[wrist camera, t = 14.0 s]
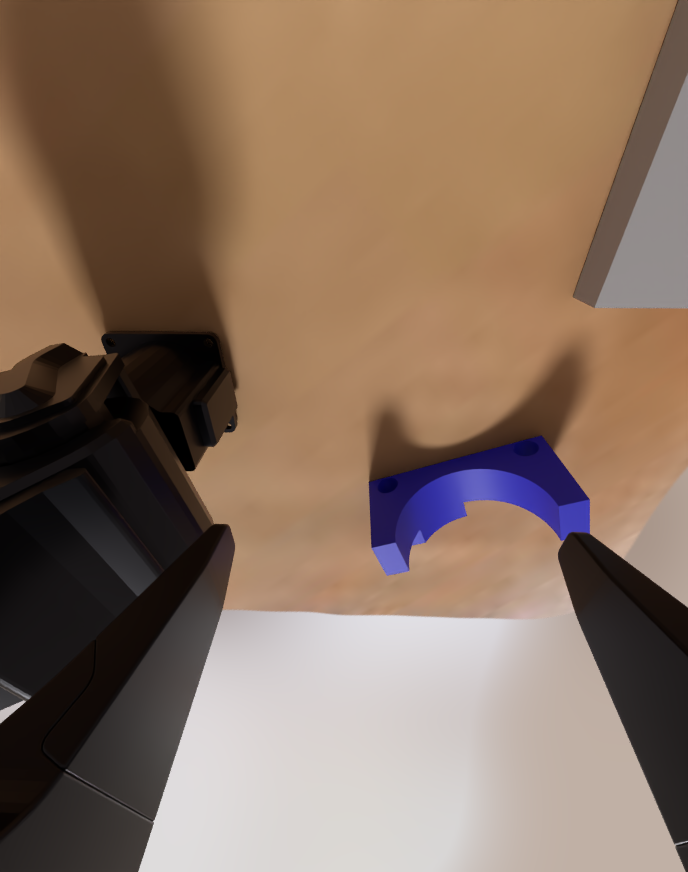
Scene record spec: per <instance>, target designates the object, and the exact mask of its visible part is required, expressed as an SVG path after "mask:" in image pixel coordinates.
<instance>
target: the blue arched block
mask: <svg viewBox="0 0 688 872" xmlns="http://www.w3.org/2000/svg"><path fill="white" fill-rule="evenodd" d="M369 497H370V521H371V546H372V550H373V551H374V553H375V555H376V557H377V559H378V561H379V562H380V564H381V566H382V568H383V570H384V571H385V573H386V575H392V574H397V573H402V572H407V571H409V555H410V550H411V546H412V545H417V544H421V543H425V542H426V541H427V540H428V539H429V537H430V536H431V535H432V534H433V533H434V532H436V531H437V530H438V529H439V528H441V527H442V526H444V525H445V524H447V523H449V522H451V521H453V520H456V519H458V518H461V517H465V516H467V514H466V511H465V507H464V504H463V502H467V501H474V500H495V501H502V502H507V503H511V504H514V505H517V506H520V507H522V508H524V509H527V510H528V511H530V512H532V513H534V514H535V515H537V516H538V517H540V518H541V519H542V520H544V521H545V522H546V523H547V524H548V525H549V526H550V527H551V528H552V529H553V530H554V531H555V532H556V534H557V535H558V537H559V538H560V540H561V541H562V540H565V538H566V537H567V535H568V534H569V533H570V532H586V533H589V534H590V499H589V498H588V497H587V495H586V494H585V493H584V491H583V490H582V489H581V487H580V486H579V485H578V483H577V482H576V481H575V479H574V478H573V477H572V475H571V474H570V473H569V471H568V470H567V469H566V467H565V466H564V465H563V463H562V462H561V461H560V459H559V458H558V457H557V455H556V454H555V453H554V451H553V450H552V449H551V447H550V446H549V445H548V443H547V442H546V441H545V439H544V438H543V437H542V435H541V436H538V437H534V438H530V439H526V440H523V441H519V442H515V443H512V444H508V445H504V446H501V447H497V448H493V449H489V450H486V451H482V452H478V453H475V454H471V455H467V456H464V457H460V458H456V459H452V460H449V461H445V462H441V463H438V464H434V465H430V466H426V467H423V468H419V469H415V470H412V471H408V472H404V473H401V474H397V475H393V476H389V477H386V478H382V479H378V480H375V481H371V482H369Z"/></svg>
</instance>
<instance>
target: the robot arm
mask: <svg viewBox="0 0 688 872" xmlns="http://www.w3.org/2000/svg"><path fill="white" fill-rule="evenodd" d="M110 338H111V339H113V340H114V341H115V343H116V344H114V343H112V342H111V340H110ZM206 339H210V340H211V341H212V342H213V345H210V344H208V343H207V341H206ZM101 340H102V344H103V346H104V348H105V351H106V353H107V354H106V355H98V356H88V355H87V353H82V352H80V351H78V350H76V349H74V348H72V347H70V346H69V345H67V344H65V343H61V344H55V345H50V346H48V347H46V348H44V349H42V350H40V351H38V352H36V353H34V354H32V355H30V356H29V357H27V358H25V359H23V360H22V361H20V362H19V363H17V364H16V365H15V366H14V367H13V368H12V369H11V370H8V371H4V372H1V373H0V710H2V709H4V708H7V707H9V706H12V705H14V704H16V703H19V702H21V701H23V700H24V701H26V702H25V703H24V704H23V705H22V706H21V707H20V708H18V709H17V710H16V711H15V712H14V713H12V714H11V715H10V716H9V717H8V718H6V719H5V720H4V721H3V722H2V723H1V724H0V872H138V871H139V868H140V864H141V861H142V858H143V855H144V852H145V849H146V846H147V843H148V840H149V837H150V833H151V830H152V827H153V824H154V822H153V821H154V820H155V817H156V814H157V811H158V808H159V805H160V801H161V799H162V796H163V792H164V789H165V786H166V783H167V780H168V777H169V774H170V771H171V767H172V764H173V761H174V758H175V754H176V752H177V749H178V746H179V743H180V739H181V737H182V733H183V730H184V727H185V723H186V721H187V717H188V715H189V712H190V709H191V705H192V702H193V699H194V696H195V693H196V690H197V687H198V684H199V681H200V678H201V674H202V671H203V668H204V665H205V662H206V659H207V655H208V653H209V649H210V646H211V643H212V640H213V637H214V634H215V630H216V628H217V624H218V622H219V618H220V615H221V612H222V608H223V605H224V600H225V596H226V591H227V586H228V581H229V576H230V571H231V566H232V562H233V557H234V552H235V543H234V539H233V536H232V532H231V529H230V526H229V525H228V524H214V523H213V520H212V517H211V515H210V514H209V512H208V510H207V508H206V506H205V505H204V503H203V501H202V499H201V498H200V496H199V494H198V492H197V491H196V489H195V487H194V485H193V483H192V482H191V480H190V478H189V476H188V475H187V473H186V471H194V470H195V469H196V467H197V465H198V463H199V462H200V460H201V458H202V456H203V455H204V453H205V451H206V450H207V448H208V447H214V446H215V445H216V444H217V443H218V442H219V440H220V438H221V436H222V434H223V433H224V432H233V431H234V430H235V429H236V427H237V419H236V415H235V411H236V409H237V402H236V397H235V392H234V387H233V382H232V378H231V373H230V371H229V370H228V369H227V368H225V363H224V359H223V354H222V349H221V345H220V340H219V338H218V336H217V335H216V334H214V333H212V332H155V331H110V332H107V333H106V334H104V335H103V336H102V338H101ZM229 423H230V424H231V426H228V424H229ZM558 559H559V563H560V566H561V569H562V572H563V576H564V579H565V582H566V585H567V588H568V591H569V595H570V598H571V601H572V604H573V607H574V610H575V613H576V616H577V619H578V621H579V624H580V626H581V629H582V631H583V633H584V635H585V638H586V640H587V642H588V645H589V647H590V649H591V652H592V654H593V656H594V659H595V661H596V663H597V666H598V668H599V670H600V673H601V675H602V677H603V680H604V682H605V684H606V687H607V689H608V691H609V694H610V696H611V698H612V701H613V703H614V705H615V708H616V710H617V712H618V715H619V717H620V719H621V722H622V724H623V726H624V728H625V731H626V733H627V735H628V738H629V740H630V742H631V745H632V747H633V749H634V752H635V754H636V756H637V759H638V761H639V763H640V766H641V768H642V770H643V772H644V775H645V777H646V780H647V782H648V784H649V787H650V789H651V791H652V794H653V796H654V798H655V800H656V803H657V805H658V808H659V810H660V812H661V815H662V817H663V819H664V822H665V824H666V826H667V828H668V831H669V833H670V835H671V838H672V840H673V842H674V844H675V845H676V850H677V852H678V855H679V857H680V859H681V862H682V864H683V866H684V869H685V871H686V872H688V607H686V606H685V605H684V604H682V603H681V602H680V601H678V600H677V599H676V598H674V597H673V596H672V595H670V594H669V593H668V592H666V591H665V590H664V589H662V588H661V587H660V586H658V585H657V584H656V583H654V582H653V581H652V580H650V579H649V578H648V577H646V576H645V575H644V574H642V573H641V572H640V571H639V570H637V569H636V568H634V567H633V566H632V565H630V564H629V563H628V562H627V561H625V560H624V559H623V558H621V557H620V556H619V555H617V554H616V553H615V552H613V551H612V550H611V549H609V548H608V547H607V546H605V545H604V544H603V543H601V542H600V541H599V540H597V539H596V538H595V537H593V536H592V535H590V534H589V533H586V532H570V533H569V534H568V535H567V537H566V538H565V540H564V542H563V544H562V546H561V547H560V549H559V552H558Z"/></svg>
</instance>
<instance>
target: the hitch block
mask: <svg viewBox="0 0 688 872" xmlns="http://www.w3.org/2000/svg"><path fill="white" fill-rule="evenodd" d="M573 297H574V298H576V299H578V300H580V301H582V302H584V303H586V304H588V305H590V306H592V307H594V308H688V0H679V1H678V3H677V6H676V9H675V12H674V15H673V17H672V20H671V23H670V26H669V29H668V31H667V34H666V37H665V40H664V43H663V45H662V48H661V51H660V54H659V57H658V59H657V62H656V65H655V68H654V71H653V74H652V76H651V79H650V82H649V85H648V88H647V90H646V93H645V96H644V99H643V102H642V104H641V107H640V110H639V113H638V116H637V118H636V121H635V124H634V127H633V130H632V132H631V135H630V138H629V141H628V144H627V147H626V149H625V152H624V155H623V158H622V161H621V163H620V166H619V169H618V172H617V175H616V177H615V180H614V183H613V186H612V189H611V191H610V194H609V197H608V200H607V203H606V205H605V208H604V211H603V214H602V217H601V220H600V222H599V225H598V228H597V231H596V234H595V236H594V239H593V242H592V245H591V248H590V250H589V253H588V256H587V259H586V262H585V264H584V267H583V270H582V273H581V276H580V278H579V281H578V284H577V287H576V290H575V292H574V295H573Z"/></svg>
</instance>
